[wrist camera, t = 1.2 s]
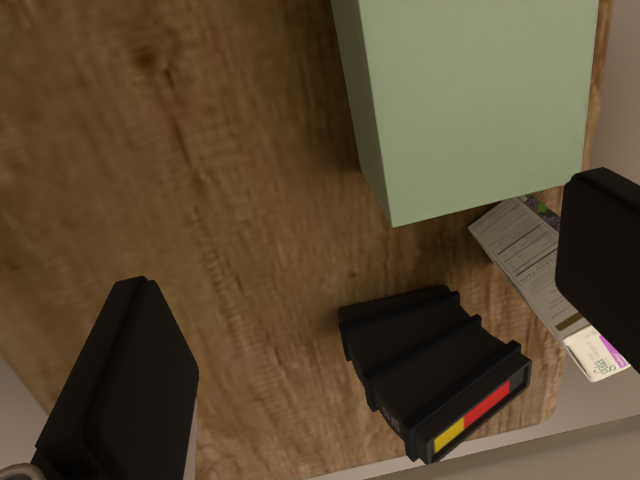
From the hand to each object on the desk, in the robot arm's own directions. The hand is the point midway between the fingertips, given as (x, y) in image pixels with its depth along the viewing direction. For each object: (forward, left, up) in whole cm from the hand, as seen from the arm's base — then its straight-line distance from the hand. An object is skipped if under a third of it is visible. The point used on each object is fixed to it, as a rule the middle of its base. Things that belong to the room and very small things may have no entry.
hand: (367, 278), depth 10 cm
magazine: (+22, +5, -24) cm, 33 cm away
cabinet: (0, +9, -24) cm, 26 cm away
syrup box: (+16, +15, -24) cm, 33 cm away
